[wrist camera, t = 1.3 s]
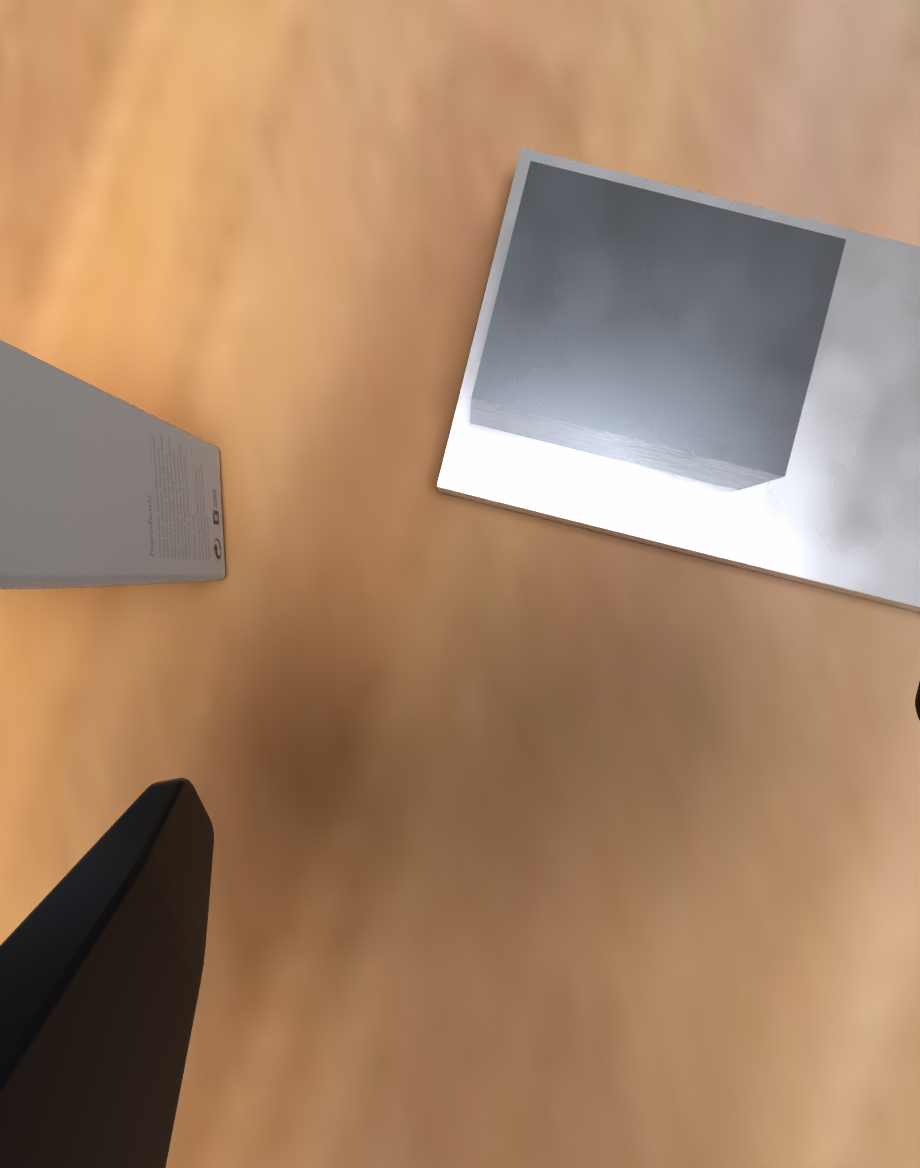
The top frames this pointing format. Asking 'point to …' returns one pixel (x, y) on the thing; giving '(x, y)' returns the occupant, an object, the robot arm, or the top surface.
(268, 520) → the top surface
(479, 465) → the rail plate
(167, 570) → the skincare box
